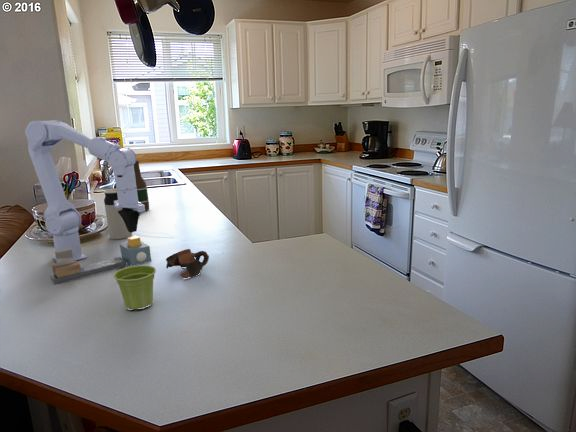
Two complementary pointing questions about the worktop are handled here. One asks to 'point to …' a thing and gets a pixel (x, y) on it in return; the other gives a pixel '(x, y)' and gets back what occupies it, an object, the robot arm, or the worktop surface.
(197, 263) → the pottery mug
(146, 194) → the beer bottle
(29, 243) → the worktop surface
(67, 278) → the rail
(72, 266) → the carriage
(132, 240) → the button
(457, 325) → the worktop surface
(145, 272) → the plant pot
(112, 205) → the travel mug
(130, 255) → the blue grey control box
